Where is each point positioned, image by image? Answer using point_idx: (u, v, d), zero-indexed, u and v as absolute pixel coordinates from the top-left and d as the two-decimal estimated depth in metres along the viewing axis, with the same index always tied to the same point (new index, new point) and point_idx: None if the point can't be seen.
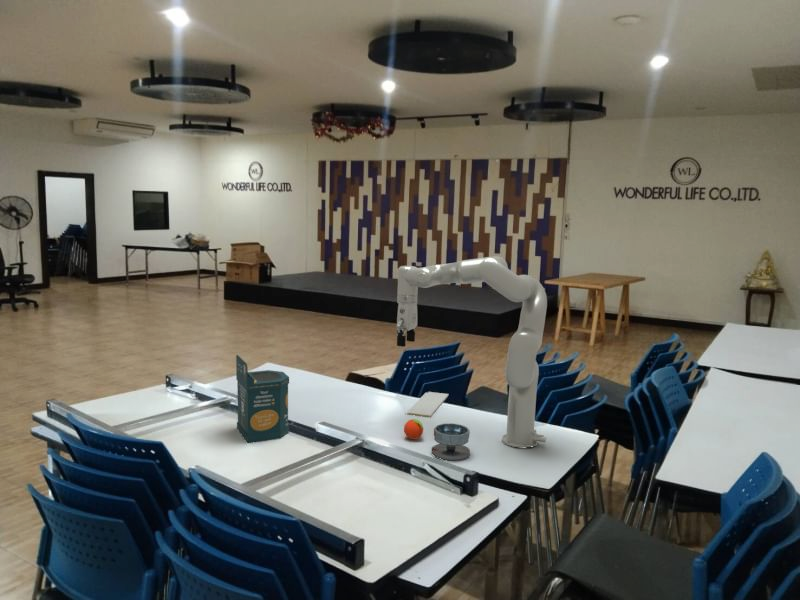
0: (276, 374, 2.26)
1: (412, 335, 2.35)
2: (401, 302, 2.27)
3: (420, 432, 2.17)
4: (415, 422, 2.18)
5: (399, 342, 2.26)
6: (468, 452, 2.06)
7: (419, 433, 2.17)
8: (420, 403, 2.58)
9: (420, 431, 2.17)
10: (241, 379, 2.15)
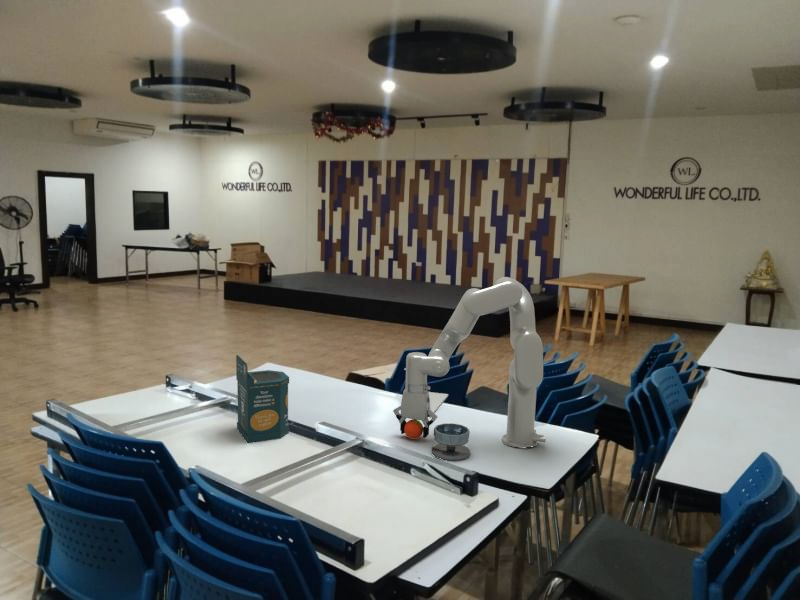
0: (276, 374, 2.26)
1: None
2: (424, 392, 2.15)
3: (420, 432, 2.17)
4: (415, 422, 2.18)
5: (427, 433, 2.17)
6: (468, 452, 2.06)
7: (419, 433, 2.17)
8: None
9: (420, 431, 2.17)
10: (241, 379, 2.15)
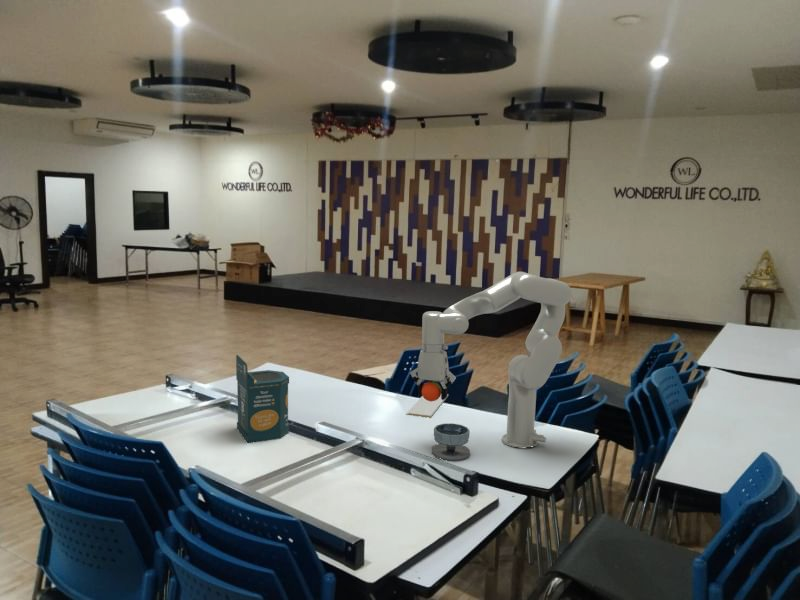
0: (276, 374, 2.26)
1: None
2: (442, 351, 2.07)
3: (438, 394, 2.10)
4: (433, 384, 2.10)
5: (446, 395, 2.10)
6: (468, 452, 2.06)
7: (437, 395, 2.10)
8: (420, 403, 2.58)
9: (438, 393, 2.10)
10: (241, 379, 2.15)
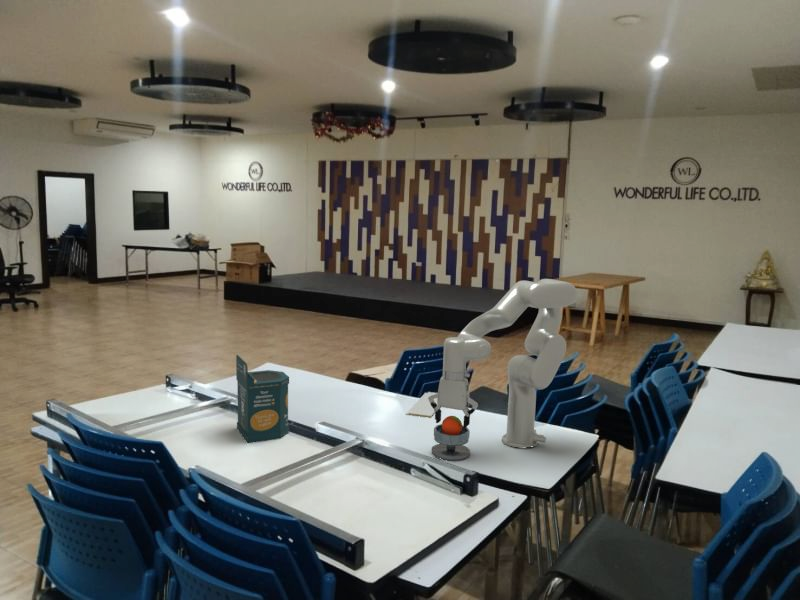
0: (276, 374, 2.26)
1: (440, 414, 2.08)
2: (463, 379, 2.01)
3: (459, 430, 2.04)
4: (454, 419, 2.04)
5: (468, 422, 2.03)
6: (468, 452, 2.06)
7: (458, 431, 2.04)
8: (420, 403, 2.57)
9: (459, 429, 2.04)
10: (241, 379, 2.15)
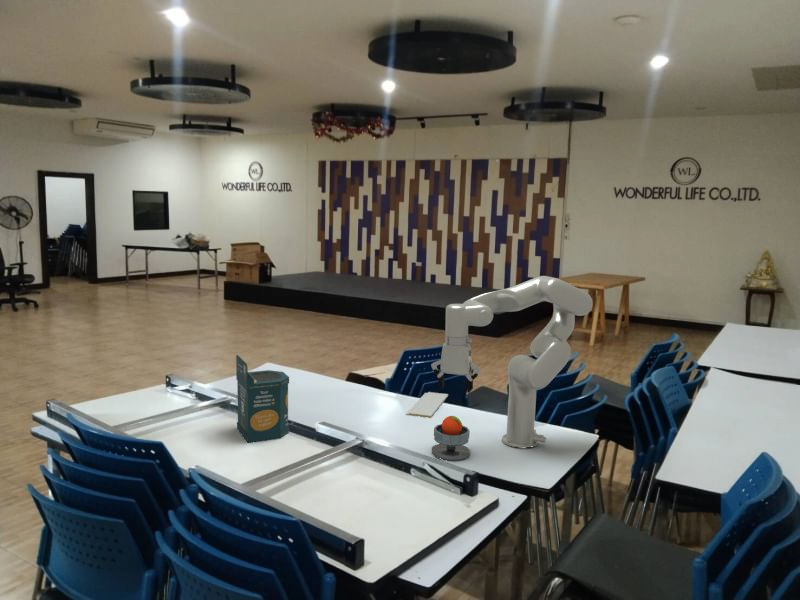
0: (276, 374, 2.26)
1: (443, 381, 2.10)
2: (466, 344, 2.04)
3: (459, 429, 2.04)
4: (454, 419, 2.04)
5: (472, 387, 2.06)
6: (468, 452, 2.06)
7: (458, 431, 2.04)
8: (420, 403, 2.57)
9: (459, 428, 2.04)
10: (241, 379, 2.15)
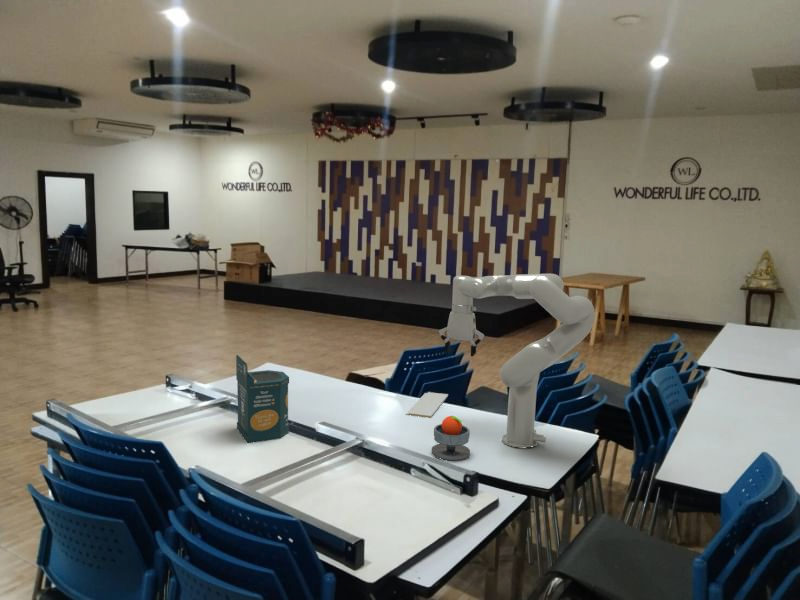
0: (276, 374, 2.26)
1: (449, 346, 2.31)
2: (470, 312, 2.25)
3: (459, 429, 2.04)
4: (454, 419, 2.04)
5: (475, 352, 2.27)
6: (468, 452, 2.06)
7: (458, 430, 2.04)
8: (420, 403, 2.57)
9: (459, 428, 2.04)
10: (241, 379, 2.15)
